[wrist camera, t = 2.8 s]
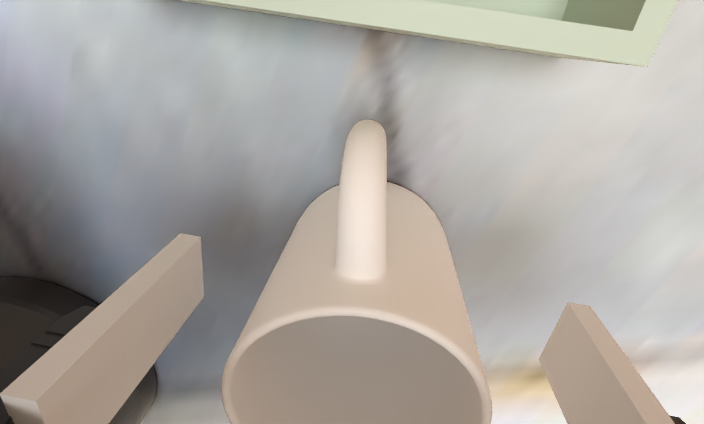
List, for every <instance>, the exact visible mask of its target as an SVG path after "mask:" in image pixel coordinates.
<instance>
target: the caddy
mask: <svg viewBox="0 0 704 424" xmlns="http://www.w3.org/2000/svg"><path fill="white" fill-rule="evenodd" d="M180 1H187V2H193V3H200V4H207V5H213V6H220V7H226V8H233V9H240V10H246V11H253V12H260V13H266V14H273V15H280V16H286V17H293V18H300V19H306V20H313V21H320V22H326V23H333V24H340V25H346V26H353V27H360V28H366V29H373V30H380V31H386V32H393V33H400V34H406V35H413V36H420V37H426V38H433V39H439V40H446V41H453V42H459V43H466V44H473V45H479V46H486V47H493V48H499V49H506V50H513V51H519V52H526V53H533V54H539V55H546V56H553V57H559V58H568V59H578V60H587V61H597V62H606V63H616V64H626V65H635V66H645V67H648V65H649V63H650V61H651V59H652V57H653V54H654V52H655V50H656V48H657V46H658V44H659V41H660V39H661V37H662V35H663V33H664V31H665V28H666V26H667V24H668V22H669V20H670V18H671V16H672V13H673V11H674V9H675V7H676V5H677V3H678V0H180Z"/></svg>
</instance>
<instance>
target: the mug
mask: <svg viewBox="0 0 704 424" xmlns="http://www.w3.org/2000/svg"><path fill="white" fill-rule="evenodd" d="M221 392H222V401H223V405H224V408H225V412H226V414H227V416H228V418H229V421H230V423H231V424H490V423H491V418H492V400H491V395H490V391H489V387H488V383H487V380H486V376H485V373H484V369H483V366H482V362H481V359H480V355H479V352H478V348H477V345H476V341H475V337H474V334H473V330H472V327H471V323H470V320H469V316H468V313H467V309H466V306H465V302H464V299H463V295H462V292H461V288H460V284H459V281H458V277H457V274H456V270H455V267H454V263H453V260H452V256H451V253H450V249H449V246H448V242H447V239H446V236H445V233H444V231H443V228H442V226H441V224H440V222H439V220H438V218H437V217H436V215H435V213H434V212H433V211H432V210H431V208H430V207H429V206H428V205H427V204H426V203H425V202H424V201H423V200H422V199H421V198H420V197H418V196H417V195H416V194H414V193H413V192H411V191H409V190H407V189H405V188H404V187H401V186H399V185H396V184H393V183H389V182H387V145H386V134H385V131H384V129H383V127H382V126H381V125H380V124H379V123H377V122H376V121H374V120H369V119H366V120H362V121H359V122H358V123H356V124H355V125H354V126H353V127H352V129H351V131H350V132H349V134H348V137H347V140H346V144H345V149H344V154H343V160H342V167H341V174H340V184H339V185H338V186H335V187H332V188H331V189H329V190H327V191H325V192H324V193H323V194H321V195H320V196H319V197H317V198H316V199H315V200H314V201H313V202H312V203H311V204H310V205H309V206H308V207H307V209H306V210H305V211H304V213H303V214H302V216H301V217H300V219H299V221H298V222H297V224H296V226H295V228H294V230H293V232H292V234H291V236H290V238H289V240H288V242H287V244H286V246H285V248H284V250H283V252H282V254H281V256H280V258H279V260H278V262H277V264H276V266H275V268H274V270H273V272H272V273H271V275H270V277H269V279H268V281H267V283H266V285H265V287H264V289H263V291H262V293H261V295H260V297H259V299H258V301H257V303H256V305H255V307H254V309H253V311H252V313H251V315H250V317H249V319H248V321H247V323H246V325H245V327H244V329H243V331H242V332H241V334H240V336H239V338H238V340H237V342H236V344H235V346H234V348H233V350H232V352H231V354H230V356H229V358H228V360H227V362H226V364H225V368H224V371H223V375H222V386H221Z"/></svg>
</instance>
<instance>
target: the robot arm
mask: <svg viewBox="0 0 704 424" xmlns="http://www.w3.org/2000/svg"><path fill="white" fill-rule="evenodd" d="M203 298H204V283H203V266H202V249H201V237H199V236H194V235H188V234H182V233H180V234H179V235H178V236H177V237H175V238H174V239H173V240H172V241H171V242H170V243H169V244H168V245H166V246H165V247H164V248H163V249H162V250H161V251H160V252H159V253H157V254H156V255H155V256H154V257H153V258H152V259H151V260H150V261H148V262H147V263H146V264H145V265H144V266H143V267H142V268H141V269H139V270H138V271H137V272H136V273H135V274H134V275H133V276H132V277H130V278H129V279H128V280H127V281H126V282H125V283H124V284H123V285H121V286H120V287H119V288H118V289H117V290H116V291H115V292H114V293H112V294H111V295H110V296H109V297H108V298H107V299H106V300H105V301H103V302H102V303H101V304H100V305H99V306H98V305H97V304H95V303H94V302H92V301H90V300H88V299H87V298H85V297H83V296H81V295H79V294H77V293H75V292H73V291H70V290H68V289H66V288H63V287H60V286H58V285H54V284H51V283H48V282H44V281H40V280H36V279H30V278H23V277H0V424H140V422H141V421H142V419H143V418H144V416H145V415H146V413H147V412H148V410H149V409H150V407H151V405H152V404H153V402H154V399H155V396H156V390H157V381H156V375H155V371H154V368H153V364H154V363H155V361H156V360H157V359H158V357H159V356H160V355H161V354H162V352H163V351H164V350H165V348H166V347H167V346H168V344H169V343H170V342H171V340H172V339H173V338H174V336H175V335H176V334H177V332H178V331H179V330H180V328H181V327H182V326H183V324H184V323H185V322H186V320H187V319H188V318H189V316H190V315H191V314H192V312H193V311H194V310H195V308H196V307H197V306H198V304H199V303H200V302H201V300H202V299H203ZM539 360H540V362H541V365H542V367H543V369H544V372H545V374H546V376H547V378H548V381H549V383H550V385H551V387H552V390H553V392H554V394H555V396H556V399H557V401H558V403H559V405H560V408H561V410H562V412H563V414H564V417H565V419H566V421H567V423H568V424H686V423H685V422H683V421H682V420H681V419H680V418H679V417H674V416H669V415H668V413H667V412H666V411H665V409H664V408H663V406H662V405H661V404H660V402H659V401H658V400H657V398H656V397H655V395H654V394H653V393H652V391H651V390H650V389H649V387H648V386H647V384H646V383H645V382H644V380H643V379H642V377H641V376H640V375H639V373H638V372H637V371H636V369H635V368H634V366H633V365H632V364H631V362H630V361H629V359H628V358H627V357H626V355H625V354H624V353H623V351H622V350H621V348H620V347H619V346H618V344H617V343H616V341H615V340H614V339H613V337H612V336H611V335H610V333H609V332H608V330H607V329H606V328H605V326H604V325H603V323H602V322H601V321H600V319H599V318H598V317H597V315H596V314H595V312H594V311H593V310H592V308H591V307H590V306H585V305H579V304H574V303H567V305H566V307H565V309H564V311H563V313H562V315H561V317H560V319H559V321H558V323H557V325H556V327H555V329H554V331H553V332H552V334H551V336H550V338H549V340H548V342H547V344H546V346H545V348H544V350H543V352H542V354H541V356H540V358H539Z"/></svg>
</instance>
